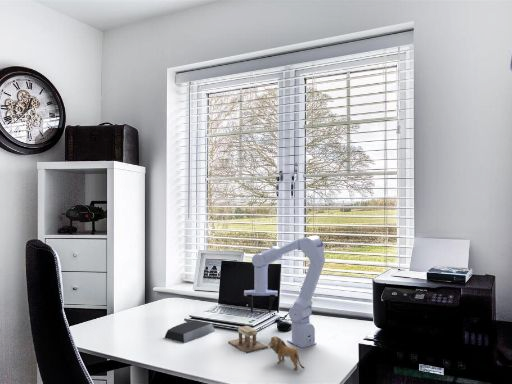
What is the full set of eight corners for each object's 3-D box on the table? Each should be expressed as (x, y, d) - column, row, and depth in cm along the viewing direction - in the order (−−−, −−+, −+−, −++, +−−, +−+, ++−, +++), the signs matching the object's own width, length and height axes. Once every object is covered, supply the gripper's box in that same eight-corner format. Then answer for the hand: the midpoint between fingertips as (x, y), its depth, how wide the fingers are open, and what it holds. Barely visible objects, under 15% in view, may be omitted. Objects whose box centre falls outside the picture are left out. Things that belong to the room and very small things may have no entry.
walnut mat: (267, 348, 171) (267, 346, 171) (246, 353, 165) (246, 351, 165) (248, 338, 182) (248, 336, 182) (228, 342, 177) (228, 341, 177)
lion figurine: (266, 362, 156) (266, 337, 156) (274, 357, 161) (274, 333, 161) (300, 372, 147) (300, 346, 147) (308, 367, 152) (308, 341, 152)
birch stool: (247, 340, 178) (247, 325, 178) (256, 345, 172) (256, 330, 172) (238, 342, 175) (238, 327, 176) (247, 347, 170) (247, 332, 170)
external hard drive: (216, 332, 192) (216, 323, 192) (185, 344, 176) (185, 334, 176) (194, 327, 199) (194, 318, 199) (163, 338, 183) (163, 329, 183)
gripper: (243, 282, 184) (243, 314, 184) (277, 283, 183) (277, 315, 183) (244, 279, 191) (244, 310, 191) (277, 279, 190) (277, 310, 190)
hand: (260, 312), depth 188 cm, fingers open, 7 cm apart
